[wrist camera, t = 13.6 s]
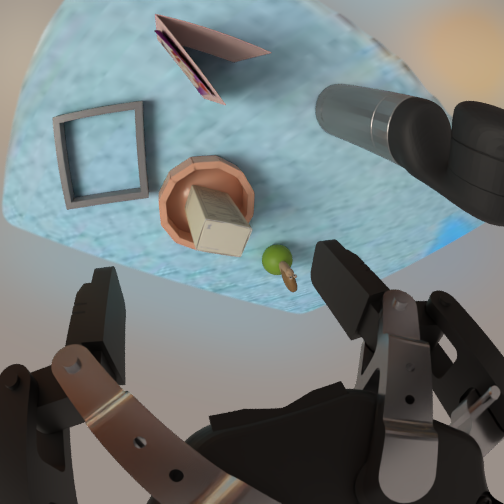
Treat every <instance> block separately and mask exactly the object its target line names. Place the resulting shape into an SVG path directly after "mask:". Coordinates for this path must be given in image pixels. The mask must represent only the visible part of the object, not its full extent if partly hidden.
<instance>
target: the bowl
mask: <svg viewBox="0 0 504 504" xmlns="http://www.w3.org/2000/svg"><path fill="white" fill-rule="evenodd" d="M192 185H197V186H202V187H206V188H210V189H214V190H218V191H221V192H225V193H228V194H229V196H230V197H231V199H232V200H233V202H234V203H235V205H236V206H237V207H238V209H239V210H240V212H241V213H242V215H243V216H244V218H245V219H246V221H247V222H248V223H249V221H250V220H251V218H252V217H253V212H254V191H253V189H252V187H251V186H250V184H249V182H248V180H247V179H246V177H245V175H244V173H243V172H242V171H241V170H240V169H239V168H238V167H237V166H236V165H234V164H232V163H230V162H229V161H227V160H225V159H223V158H221V157H219V156H217V155H211V156H196V157H190V158H188V159H187V160H185V161H184V162H182V163H181V164H179V165H178V166H176V167H175V168H173V169H172V170H170V171H169V173H168V175H167V177H166V179H165V181H164V183H163V185H162V187H161V189H160V191H159V210H160V219H161V225H162V227H163V228H164V229H165V230H166V232H167V233H168V234H169V235H170V236H171V238H172V239H173V240H174V241H175V242H176V243H178V244H181V245H184V246H186V247H189V248H192V249H195V250H196V248H195V245H194V241H193V238H192V235H191V231H190V228H189V224H188V220H187V217H186V213H185V209H184V208H185V205H186V201H187V198H188V195H189V192H190V189H191V186H192Z"/></svg>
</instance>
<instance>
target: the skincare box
mask: <svg viewBox="0 0 504 504" xmlns="http://www.w3.org/2000/svg"><path fill="white" fill-rule="evenodd" d="M184 209H185V213H186V217H187V220H188V224H189V228H190V231H191V235H192V238H193V241H194V245H195V248H196V250H199V251H203V252H209V253H215V254H221V255H228V256H235V257H241V255H242V253H243V251H244V248H245V246H246V244H247V241H248V239H249V237H250V234H251V232H252V228H251V226H250V225H249V224H248V222H247V221H246V219H245V218H244V216H243V215H242V213H241V212H240V210H239V209H238V207H237V206H236V205H235V203H234V202H233V200H232V199H231V197H230V196H229V194H228V193H225V192H221V191H218V190H214V189H210V188H206V187H202V186H197V185H192V186H191V189H190V192H189V195H188V198H187V201H186V205H185V208H184Z"/></svg>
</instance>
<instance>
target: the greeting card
mask: <svg viewBox="0 0 504 504" xmlns="http://www.w3.org/2000/svg"><path fill="white" fill-rule="evenodd" d="M155 19H156V30H155V32H156V33H157V39H158V41H159V42H160V43H161V44H162V46H163V47H164V48H165V49H166V51H167V52H168V53H169V54H170V56H171V57H172V58H173V59H174V61H175V62H176V63H177V64H178V66H179V67H180V68H181V69H182V71H183V72H184V73H185V75H186V76H187V77H188V78H189V80H190V81H191V82H192V84H193V85H194V86H195V88H196V89H197V90H198V92H199V93H200V95H202V97H203V98H204V99H207V100H210V101H214V102H217V103H220V104H223V105H226V104H225V103H224V102H223V100H222V99H221V97H220V96H219V95H218V93H217V92H216V91H215V89H214V88H213V87H212V85H211V84H210V82H209V81H208V80H207V78H206V77H205V76H204V74H203V73H202V72H201V70H200V69H199V68H198V67H197V65H196V64H195V63H194V61H193V60H192V59H191V57H190V56H189V55H188V54H187V52H186V51H185V50H184V48H183V47H182V46H185V47H188V48H192V49H195V50H198V51H202V52H205V53H208V54H211V55H214V56H217V57H220V58H223V59H226V60H228V61H231V62H238V61H242V60H245V59H249V58H253V57H257V56H261V55H265V54H270V53H271V52H269V51H267V50H264V49H262V48H260V47H257V46H255V45H253V44H250V43H248V42H245V41H243V40H240V39H237V38H235V37H232V36H229V35H227V34H224V33H221V32H218V31H215V30H212V29H209V28H206V27H203V26H199V25H196V24H193V23H189V22H186V21H182V20H178V19H174V18H170V17H166V16H162V15H158V14H155Z"/></svg>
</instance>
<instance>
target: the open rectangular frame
mask: <svg viewBox="0 0 504 504" xmlns="http://www.w3.org/2000/svg"><path fill="white" fill-rule="evenodd" d="M134 109H135V123H136V141H137V155H138V167H139V178H140V187H141V188H134V189H127V190H119V191H112V192H106V193H99V194H93V195H87V196H81V197H74V192H73V187H72V181H71V175H70V169H69V163H68V156H67V148H66V139H65V130H64V122H66V121H70V120H75V119H80V118H85V117H90V116H95V115H101V114H107V113H113V112H120V111H127V110H134ZM53 129H54V138H55V146H56V154H57V160H58V167H59V173H60V179H61V184H62V189H63V194H64V199H65V204H66V208H67V210H69V209H74V208H80V207H87V206H93V205H99V204H106V203H113V202H120V201H127V200H135V199H143V198H148V197H149V189H148V179H147V167H146V154H145V138H144V115H143V101H136V102H129V103H121V104H115V105H108V106H102V107H97V108H91V109H86V110H81V111H77V112H72V113H68V114H63V115H59V116H56V117H53Z"/></svg>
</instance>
